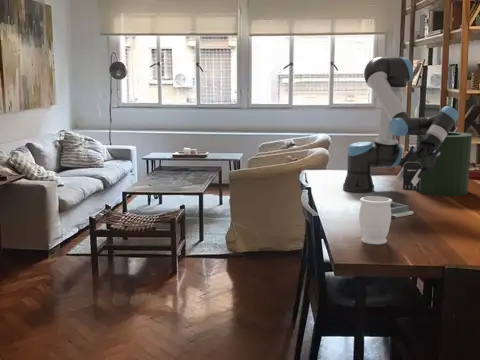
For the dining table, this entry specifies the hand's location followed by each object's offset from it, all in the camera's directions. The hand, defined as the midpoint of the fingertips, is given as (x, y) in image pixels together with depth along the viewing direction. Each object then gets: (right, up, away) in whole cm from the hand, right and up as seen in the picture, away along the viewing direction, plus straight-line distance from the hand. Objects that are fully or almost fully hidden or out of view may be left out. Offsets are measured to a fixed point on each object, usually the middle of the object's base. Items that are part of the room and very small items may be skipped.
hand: (405, 182), depth 235 cm
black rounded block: (+3, -3, +3) cm, 5 cm away
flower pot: (+32, -5, +54) cm, 63 cm away
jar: (-20, -20, -33) cm, 44 cm away
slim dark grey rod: (-10, -13, +5) cm, 17 cm away
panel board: (-4, -13, +8) cm, 16 cm away
